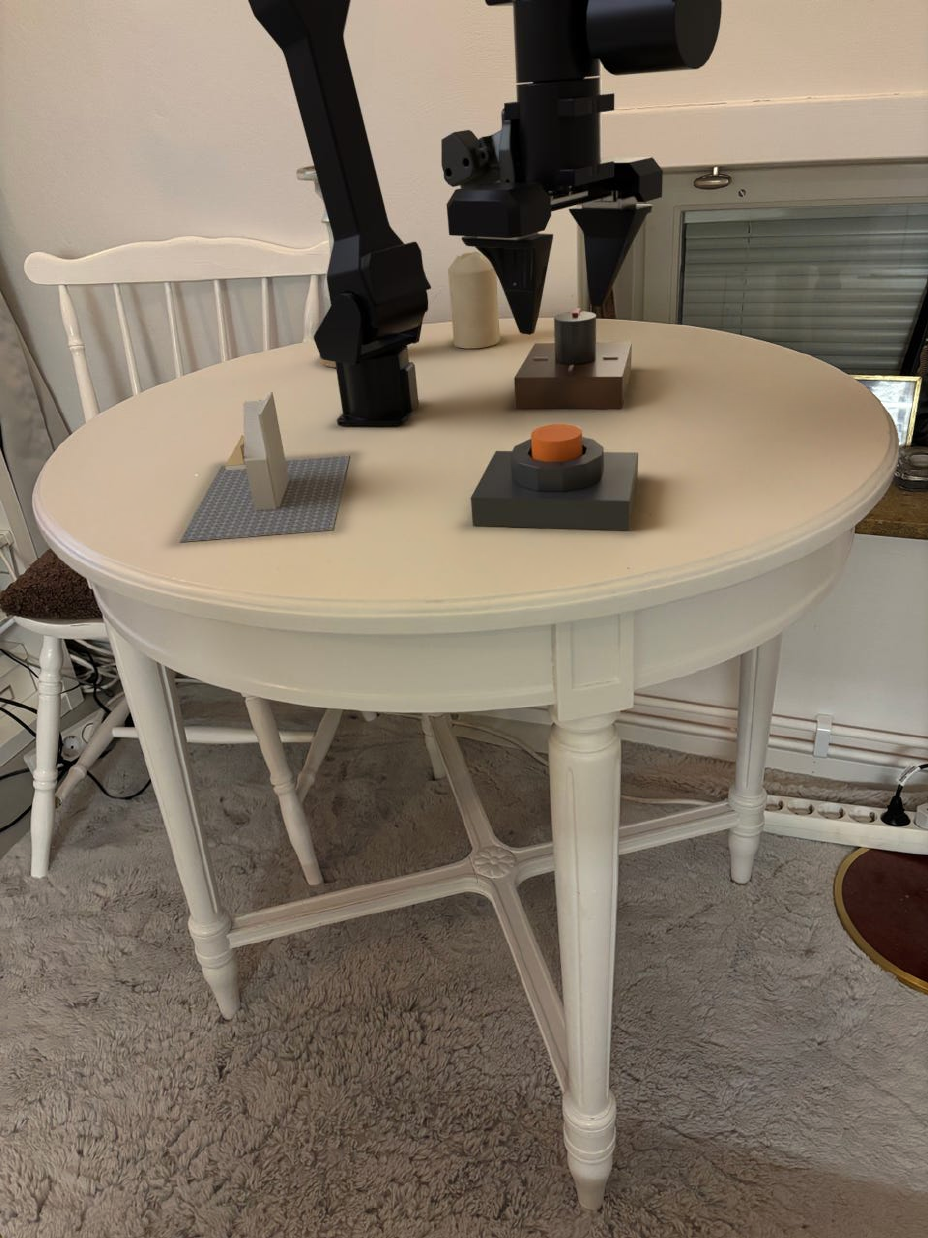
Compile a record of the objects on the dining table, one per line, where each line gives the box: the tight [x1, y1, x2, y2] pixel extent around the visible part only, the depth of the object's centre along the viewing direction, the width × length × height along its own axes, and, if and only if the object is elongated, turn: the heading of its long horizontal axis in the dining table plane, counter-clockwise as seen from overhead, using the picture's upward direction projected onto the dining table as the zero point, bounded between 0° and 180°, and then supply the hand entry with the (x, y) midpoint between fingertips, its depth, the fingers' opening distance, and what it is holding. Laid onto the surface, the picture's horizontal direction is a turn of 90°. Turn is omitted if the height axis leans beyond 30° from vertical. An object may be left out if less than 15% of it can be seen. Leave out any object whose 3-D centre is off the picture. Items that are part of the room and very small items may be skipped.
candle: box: [447, 251, 501, 349], centre depth 105 cm, size 6×6×10 cm
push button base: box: [470, 436, 639, 531], centre depth 66 cm, size 11×9×4 cm
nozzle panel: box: [513, 341, 633, 410], centre depth 89 cm, size 10×12×3 cm
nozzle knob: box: [553, 307, 597, 364], centre depth 87 cm, size 4×4×4 cm
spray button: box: [530, 423, 583, 462], centre depth 65 cm, size 4×4×2 cm
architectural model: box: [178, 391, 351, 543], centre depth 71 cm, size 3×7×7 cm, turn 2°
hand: (563, 319), depth 69 cm, fingers open, 9 cm apart
